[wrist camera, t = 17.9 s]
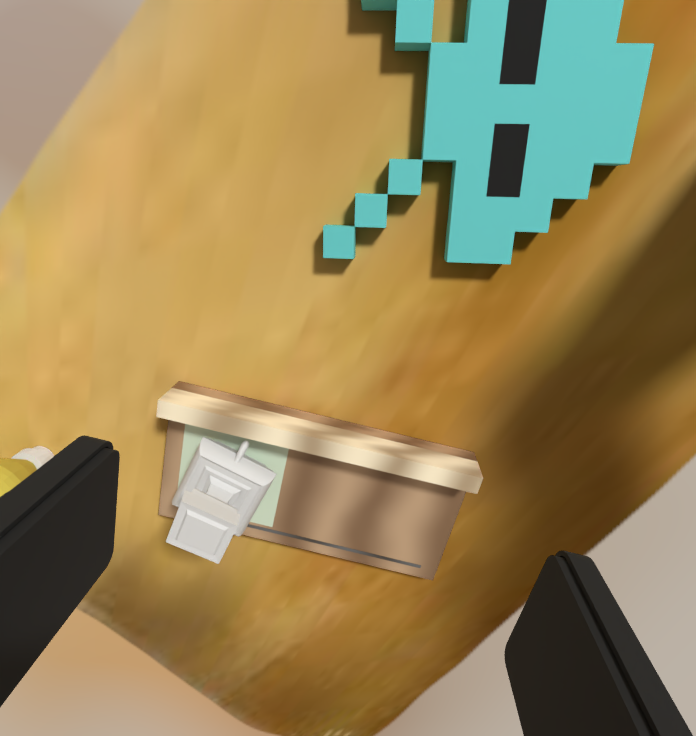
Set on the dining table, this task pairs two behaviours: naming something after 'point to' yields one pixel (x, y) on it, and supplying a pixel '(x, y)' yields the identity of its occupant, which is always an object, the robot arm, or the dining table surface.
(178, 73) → the dining table surface
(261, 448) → the end mark
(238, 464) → the stamp
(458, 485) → the brown piece
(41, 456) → the light bulb
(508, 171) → the teal pixel sprite
